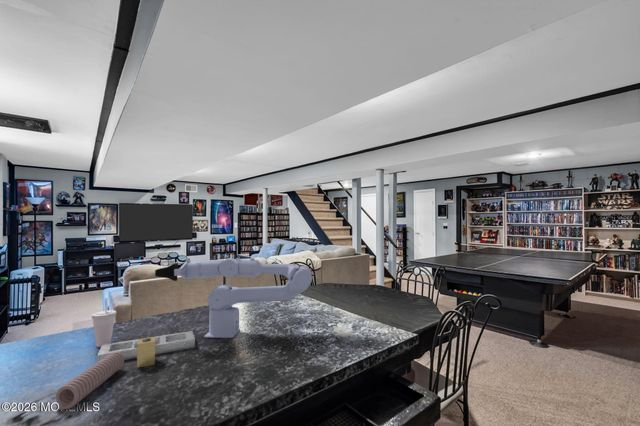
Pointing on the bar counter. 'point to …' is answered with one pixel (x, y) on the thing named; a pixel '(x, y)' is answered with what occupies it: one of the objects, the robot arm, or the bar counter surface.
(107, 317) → the smoothie
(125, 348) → the rail
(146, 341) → the drilled wooden block
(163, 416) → the bar counter surface
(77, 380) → the coil
